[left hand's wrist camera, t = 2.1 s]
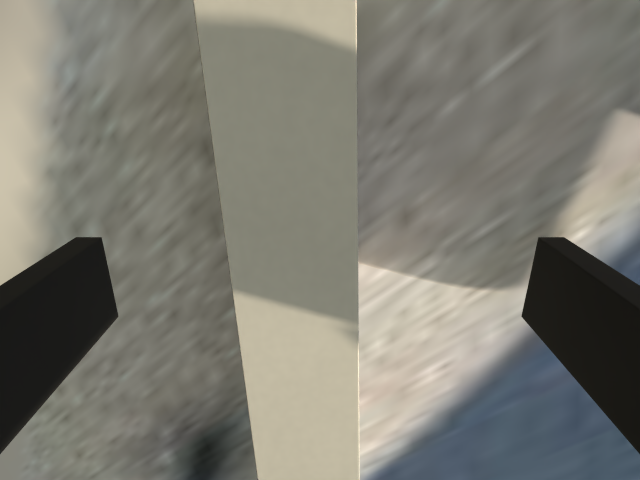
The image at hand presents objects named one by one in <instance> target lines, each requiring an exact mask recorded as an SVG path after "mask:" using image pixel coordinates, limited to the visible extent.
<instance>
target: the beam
mask: <svg viewBox="0 0 640 480" xmlns="http://www.w3.org/2000/svg"><path fill="white" fill-rule="evenodd" d="M193 4H194V11H195V19H196V26H197V34H198V41H199V48H200V56H201V63H202V71H203V78H204V85H205V93H206V100H207V108H208V115H209V122H210V130H211V137H212V145H213V152H214V160H215V167H216V174H217V182H218V189H219V197H220V204H221V211H222V219H223V226H224V234H225V241H226V248H227V256H228V263H229V271H230V278H231V285H232V293H233V300H234V308H235V315H236V322H237V330H238V337H239V345H240V352H241V359H242V367H243V374H244V382H245V389H246V396H247V404H248V411H249V419H250V426H251V433H252V441H253V448H254V456H255V463H256V470H257V478H258V480H359V323H358V162H357V0H193Z"/></svg>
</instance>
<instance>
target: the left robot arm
mask: <svg viewBox="0 0 640 480" xmlns="http://www.w3.org/2000/svg"><path fill="white" fill-rule="evenodd" d="M117 317H118V312H117V308H116V303H115V298H114V293H113V289H112V284H111V279H110V275H109V270H108V265H107V261H106V256H105V251H104V247H103V242H102V237H76V238H74V239H73V240H71V241H70V242H68V243H66V244H65V245H63V246H62V247H60V248H59V249H57V250H55V251H54V252H52V253H51V254H49V255H48V256H46V257H44V258H43V259H41V260H40V261H38V262H37V263H35V264H34V265H32V266H30V267H29V268H27V269H26V270H24V271H23V272H21V273H19V274H18V275H16V276H15V277H13V278H12V279H10V280H8V281H7V282H5V283H4V284H2V285H1V286H0V454H1V452H2V451H3V450H4V449H5V448H6V447H7V446H8V444H9V443H10V442H11V441H12V440H13V439H14V437H15V436H16V435H17V434H18V433H19V432H20V430H21V429H22V428H23V427H24V426H25V425H26V423H27V422H28V421H29V420H30V419H31V418H32V416H33V415H34V414H35V413H36V412H37V411H38V409H39V408H40V407H41V406H42V405H43V404H44V402H45V401H46V400H47V399H48V398H49V397H50V395H51V394H52V393H53V392H54V391H55V390H56V388H57V387H58V386H59V385H60V384H61V383H62V381H63V380H64V379H65V378H66V377H67V376H68V374H69V373H70V372H71V371H72V370H73V369H74V368H75V366H76V365H77V364H78V363H79V362H80V361H81V359H82V358H83V357H84V356H85V355H86V354H87V352H88V351H89V350H90V349H91V348H92V347H93V345H94V344H95V343H96V342H97V341H98V340H99V338H100V337H101V336H102V335H103V334H104V333H105V331H106V330H107V329H108V328H109V327H110V326H111V324H112V323H113V322H114V321H115V320H116V319H117ZM522 317H523V319H524V320H525V321H526V322H527V323H528V324H529V326H530V327H531V328H532V329H533V330H534V331H535V333H536V334H537V335H538V336H539V337H540V338H541V340H542V341H543V342H544V343H545V344H546V345H547V347H548V348H549V349H550V350H551V351H552V352H553V354H554V355H555V356H556V357H557V358H558V359H559V361H560V362H561V363H562V364H563V365H564V366H565V368H566V369H567V370H568V371H569V372H570V373H571V374H572V376H573V377H574V378H575V379H576V380H577V381H578V383H579V384H580V385H581V386H582V387H583V388H584V390H585V391H586V392H587V393H588V394H589V395H590V397H591V398H592V399H593V400H594V401H595V402H596V404H597V405H598V406H599V407H600V408H601V409H602V411H603V412H604V413H605V414H606V415H607V416H608V418H609V419H610V420H611V421H612V422H613V423H614V425H615V426H616V427H617V428H618V429H619V430H620V432H621V433H622V434H623V435H624V436H625V437H626V439H627V440H628V441H629V442H630V443H631V444H632V446H633V447H634V448H635V449H636V450H637V451H638V452H639V454H640V286H639V285H638V284H636V283H635V282H633V281H632V280H630V279H628V278H627V277H625V276H624V275H622V274H621V273H619V272H617V271H616V270H614V269H613V268H611V267H610V266H608V265H606V264H605V263H603V262H602V261H600V260H599V259H597V258H596V257H594V256H592V255H591V254H589V253H588V252H586V251H585V250H583V249H581V248H580V247H578V246H577V245H575V244H574V243H572V242H570V241H569V240H567V239H566V238H564V237H538V242H537V247H536V251H535V256H534V261H533V265H532V270H531V275H530V279H529V284H528V289H527V293H526V298H525V303H524V307H523V312H522Z"/></svg>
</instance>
